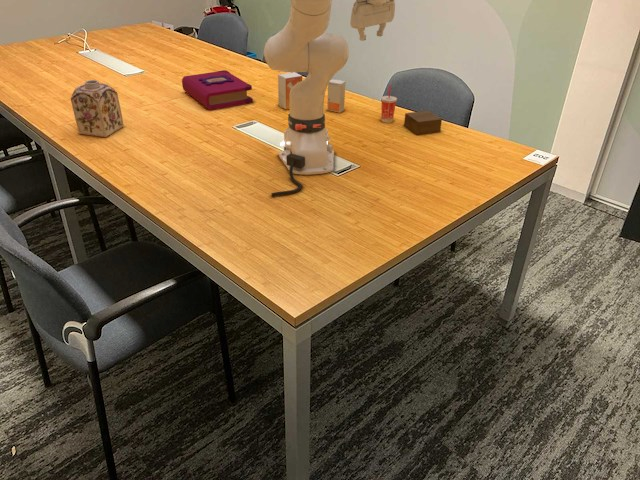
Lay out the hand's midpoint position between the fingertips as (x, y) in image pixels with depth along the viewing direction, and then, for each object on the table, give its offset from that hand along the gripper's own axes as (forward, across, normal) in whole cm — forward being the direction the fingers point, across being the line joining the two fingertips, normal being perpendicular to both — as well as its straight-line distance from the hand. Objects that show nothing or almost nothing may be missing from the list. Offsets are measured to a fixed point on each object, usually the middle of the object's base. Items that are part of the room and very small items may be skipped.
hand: (371, 38), depth 189 cm
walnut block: (+31, +9, -20) cm, 38 cm away
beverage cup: (+31, +6, -6) cm, 32 cm away
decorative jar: (+31, -80, +60) cm, 104 cm away
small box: (+32, -10, +32) cm, 46 cm away
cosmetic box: (+32, 0, +16) cm, 35 cm away
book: (+32, -26, +62) cm, 74 cm away
